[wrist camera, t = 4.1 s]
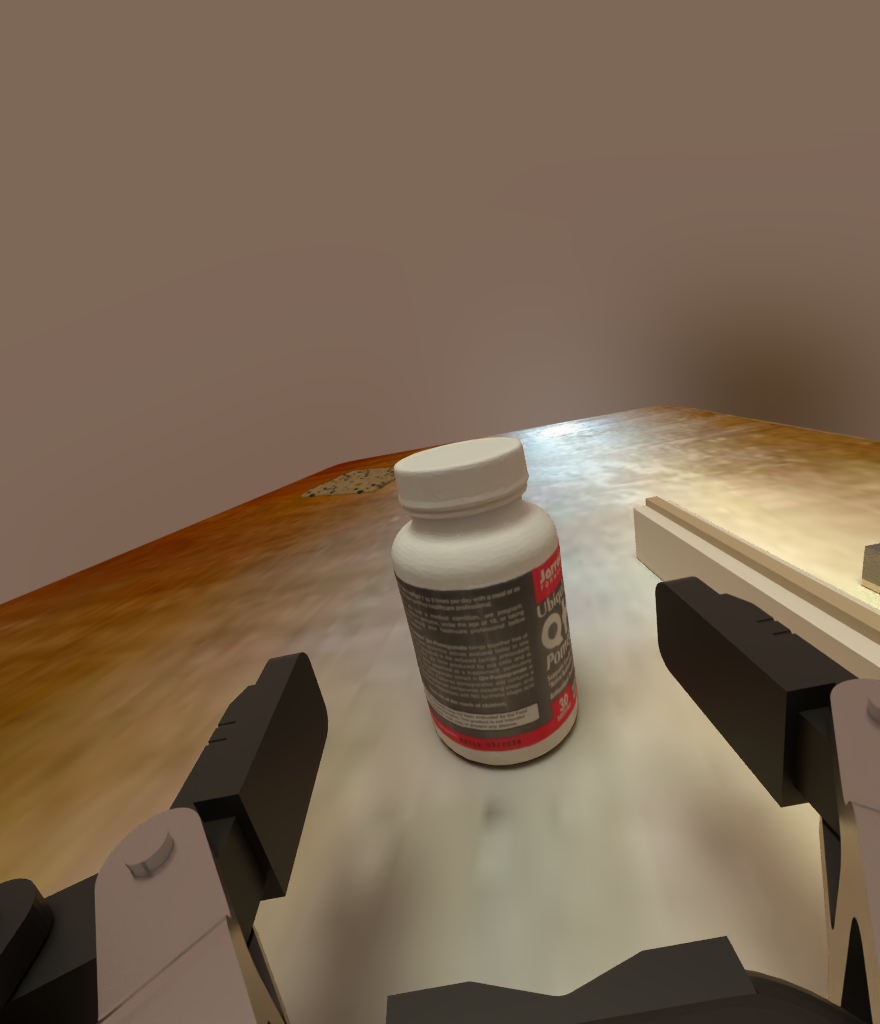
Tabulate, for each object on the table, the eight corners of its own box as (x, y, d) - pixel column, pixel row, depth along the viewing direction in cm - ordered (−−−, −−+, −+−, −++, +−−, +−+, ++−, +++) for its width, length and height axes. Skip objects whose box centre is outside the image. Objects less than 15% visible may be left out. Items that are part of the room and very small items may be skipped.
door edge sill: (1465, 1119, 6) (1616, 962, 5) (1312, 1143, 6) (1431, 992, 5) (671, 550, 25) (669, 493, 24) (637, 557, 25) (632, 501, 24)
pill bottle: (602, 757, 14) (567, 450, 11) (432, 784, 14) (353, 492, 11) (558, 651, 19) (526, 423, 16) (434, 673, 19) (380, 453, 16)
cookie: (421, 467, 63) (419, 460, 62) (373, 495, 53) (371, 488, 52) (354, 474, 68) (352, 467, 68) (299, 500, 58) (297, 493, 58)
